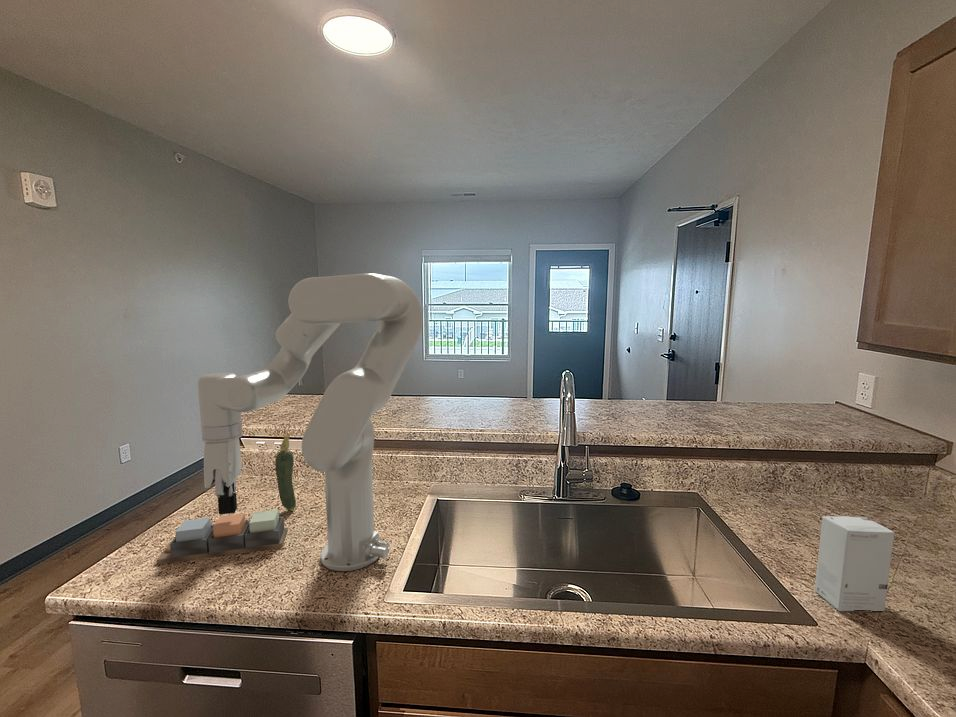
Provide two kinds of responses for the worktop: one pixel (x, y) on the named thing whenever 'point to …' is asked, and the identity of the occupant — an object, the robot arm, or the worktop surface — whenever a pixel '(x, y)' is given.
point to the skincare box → (854, 563)
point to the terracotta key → (229, 525)
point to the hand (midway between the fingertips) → (228, 511)
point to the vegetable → (285, 475)
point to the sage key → (264, 521)
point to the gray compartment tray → (224, 544)
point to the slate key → (193, 529)
